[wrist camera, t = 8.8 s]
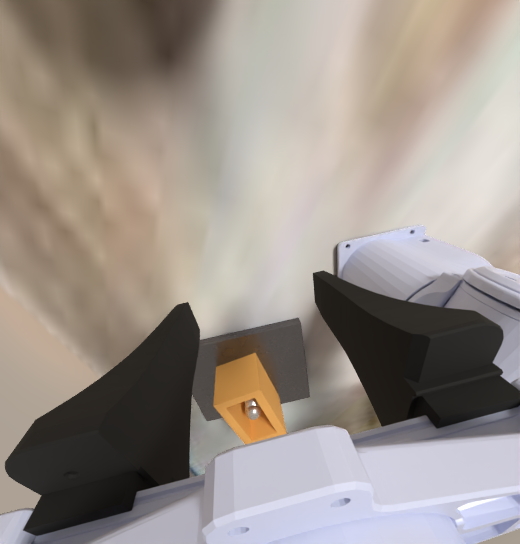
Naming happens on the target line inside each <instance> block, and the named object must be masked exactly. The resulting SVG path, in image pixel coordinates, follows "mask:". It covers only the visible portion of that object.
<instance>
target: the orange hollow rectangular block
mask: <svg viewBox="0 0 520 544" xmlns="http://www.w3.org/2000/svg"><path fill="white" fill-rule="evenodd" d="M253 398H255V399H256V401H257V402H258V404H259V405H260V407H261V414H260V416H259V418H258V419H256V420H250V419H249V418H248V417H247V416H246V413H245V401H247V400H250V399H253ZM213 406H214V407H215V409H216V410H217V411H218V412H219V413H220V415H221V416H222V417H223V418H224V419H225V421H226V422H227V423H228V424H229V425H230V427H231V428H232V429H233V430H234V431H235V433H236V434H237V435H238V436H239V437H240V439H241V440H242V441H243V442H244V443H245V445H246V444H249V443H253V442H257V441H261V440H265V439H269V438H272V437H276V436H280V435H284V434H287V432H286V428H285V423H284V418H283V413H282V408H281V403H280V399H279V395H278V393H277V391H276V390H275V388H274V386H273V384H272V382H271V380H270V379H269V377H268V375H267V373H266V371H265V369H264V368H263V366H262V364H261V362H260V360H259V358H258V357H257V355H256V353H253V354H250V355H248V356H245V357H242V358H239V359H237V360H234V361H231V362H228V363H226V364H223V365H220V366H217V367H216V376H215V390H214V403H213Z"/></svg>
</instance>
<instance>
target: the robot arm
mask: <svg viewBox="0 0 520 544" xmlns="http://www.w3.org/2000/svg"><path fill="white" fill-rule="evenodd" d="M411 230H412V232H411ZM425 230H426V227H425V226H424V225H417V226H412V227H407V228H403V229H398V230H394V231H389V232H385V233H380V234H376V235H371V236H367V237H362V238H358V239H353V240H348V241H344V242H341V243H339V244H338V246H337V264H338V277H336V276H334V275H332V274H330V273H328V272H325V271H320V272H315V273H313V281H314V295H315V303H316V305H317V307H318V309H319V311H320V313H321V315H322V317H323V319H324V320H325V322H326V323H327V325H328V326H329V328H330V329H331V331H332V332H333V334H334V335H335V337H336V338H337V340H338V341H339V343H340V344H341V346H342V347H343V349H344V350H345V352H346V354H347V356H348V358H349V359H350V361H351V363H352V365H353V367H354V369H355V371H356V373H357V375H358V377H359V379H360V381H361V383H362V385H363V387H364V389H365V391H366V393H367V395H368V397H369V399H370V402H371V404H372V406H373V408H374V410H375V412H376V414H377V417H378V419H379V421H380V423H381V426H382V427H379V428H376V429H372V430H368V431H364V432H360V433H357V434H353V435H349V434H348V432H347V430H345V429H343V428H340V427H337V426H333V425H324V426H315V427H310V428H307V429H303V430H299V431H295V432H291V433H288V434H284V435H280V436H276V437H272V438H269V439H265V440H261V441H257V442H253V443H249V444H246V445H242V446H238V447H234V448H232V449H229V450H227V451H224V452H222V453H220V454H218V455H217V456H216V457H215V458H214V459H213V460H212V461H211V462H210V463H209V464H208V465H207V466H206V469H205V474H202V475H199V476H195V477H191V478H189V448H190V415H191V398H192V388H193V381H194V375H195V369H196V363H197V357H198V351H199V342H200V329H199V326H198V324H197V322H196V319H195V317H194V315H193V312H192V310H191V308H190V305H189V303H188V302H187V303H183V304H178V305H177V306H176V307H175V308H174V309H173V310H172V311H171V312H170V313H169V314H168V315H167V317H166V318H165V319H164V320H163V321H162V322H161V323H160V324H159V326H158V327H157V328H156V329H155V330H154V331H153V332H152V333H151V334H150V335H149V336H148V337H147V338H146V339H145V340H144V341H143V342H142V343H141V344H140V345H139V346H138V347H137V348H136V349H135V350H134V351H133V352H132V353H131V354H130V355H129V356H127V357H126V358H125V359H124V360H123V361H122V362H120V363H119V364H118V365H117V366H115V367H114V368H113V369H111V370H110V371H109V372H108V373H106V374H105V375H104V376H103V377H101V378H100V379H99V380H97V381H96V382H94V383H93V384H91V385H90V386H89V387H87V388H86V389H84V390H83V391H81V392H80V393H78V394H77V395H75V396H74V397H72V398H71V399H69V400H68V401H66V402H64V403H63V404H61V405H59V406H58V407H56V408H55V409H53V410H51V411H50V412H48V413H46V414H45V415H43V416H41V417H40V418H38V419H37V420H35V421H34V423H33V424H32V426H31V427H30V428H29V430H28V431H27V433H26V434H25V435H24V437H23V438H22V439H21V441H20V442H19V444H18V445H17V446H16V448H15V449H14V451H13V452H12V453H11V455H10V456H9V457H8V459H7V460H6V462H5V470H6V472H7V474H8V475H9V477H11V478H12V479H13V480H15V481H16V482H18V483H20V484H22V485H23V486H25V487H27V488H29V489H31V490H33V491H34V492H36V493H38V494H40V495H42V496H41V498H40V500H39V501H38V504H37V505H36V507H35V509H33V508H24V509H18V510H15V511H11V512H7V513H3V514H0V544H477V543H480V542H482V541H485V540H488V539H491V538H493V537H497V536H499V535H502V534H505V533H508V532H510V531H514V530H516V529H519V528H520V275H519V274H515V273H512V272H509V271H506V270H502V269H498V268H494V267H493V266H492V265H491V264H490V263H489V262H488V261H487V260H485V259H484V258H483V257H481V256H479V255H477V254H475V253H473V252H470V251H467V250H465V249H462V248H459V247H457V246H454V245H451V244H449V243H446V242H443V241H441V240H438V239H435V238H433V237H430V236H427V235H425ZM410 232H411V233H410ZM347 244H349V245H348V247H346V245H347Z"/></svg>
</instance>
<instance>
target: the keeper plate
mask: <svg viewBox="0 0 520 544" xmlns="http://www.w3.org/2000/svg"><path fill="white" fill-rule="evenodd" d="M253 353H256V355H257V357H258V358H259V360H260V362H261V364H262V366H263V368H264V369H265V371H266V373H267V375H268V377H269V379H270V380H271V382H272V384H273V386H274V388H275V390H276V391H277V393H278V395H279V399H280V403H281V404H282V403H287V402H291V401H295V400H299V399H304V398H308V397H310V395H309V386H308V378H307V370H306V362H305V354H304V346H303V337H302V329H301V323H300V320H299V318H296V319H291V320H287V321H283V322H278V323H274V324H269V325H265V326H261V327H256V328H252V329H247V330H243V331H239V332H234V333H230V334H226V335H221V336H217V337H212V338H208V339H204V340H200V342H199V351H198V357H197V363H196V369H195V375H194V381H193V388H192V394H193V396H194V398H195V400H196V402H197V403H198V405H199V407H200V409H201V411H202V413H203V414H204V416H205V418H206V420H207V421H211V420H215V419H219V418H223V417H222V416H221V415H220V413H219V412H218V411H217V410H216V409H215V407H214V406H213V403H214V390H215V376H216V367H217V366H220V365H223V364H226V363H228V362H231V361H234V360H237V359H239V358H242V357H245V356H248V355H250V354H253ZM245 413H246V416H247V417H248V418H249V419H250V420H256V419H258V418H259V416H260V414H261V407H260V405H259V404H258V402H257V401H256V399H255V398H253V399H250V400H247V401H245Z"/></svg>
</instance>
